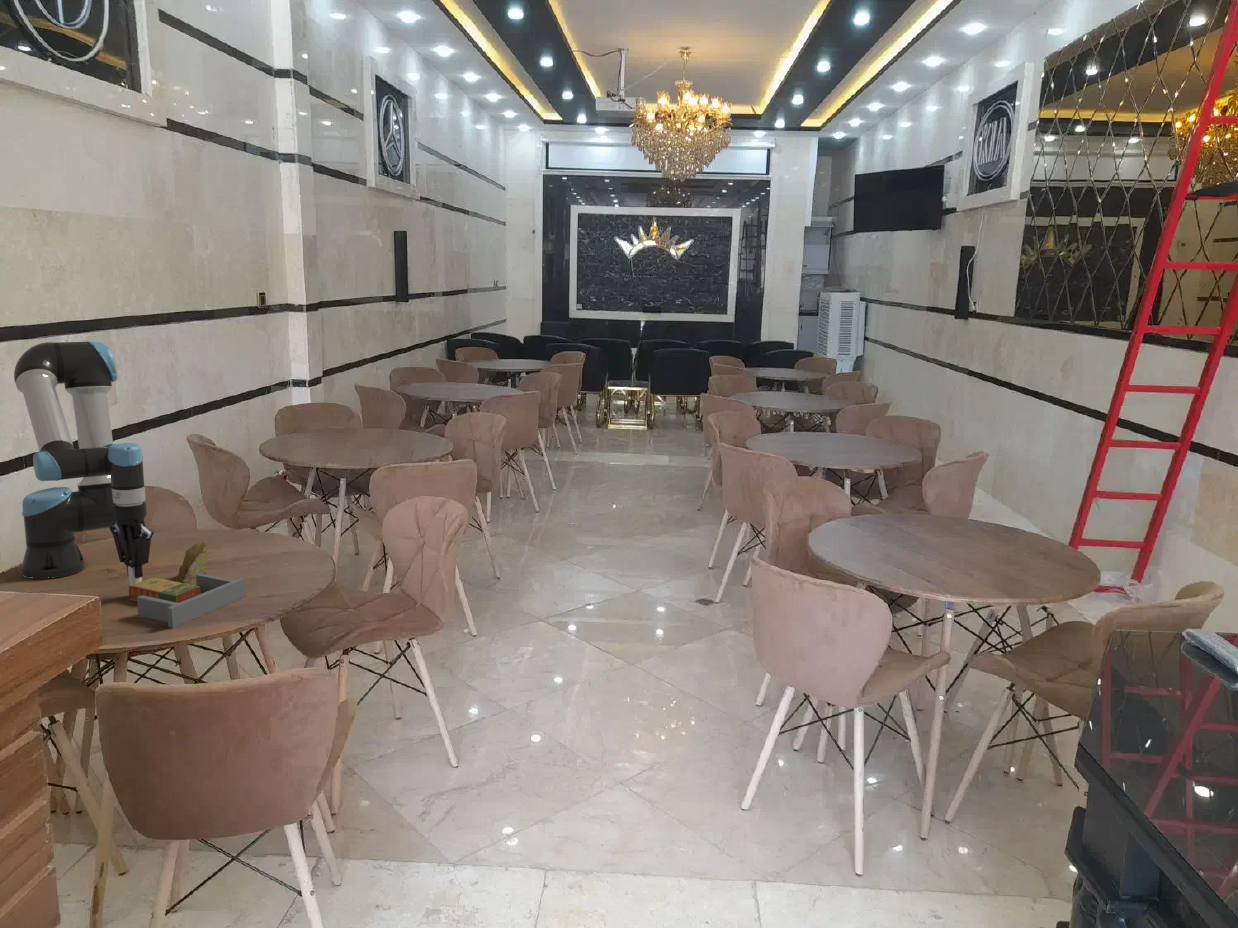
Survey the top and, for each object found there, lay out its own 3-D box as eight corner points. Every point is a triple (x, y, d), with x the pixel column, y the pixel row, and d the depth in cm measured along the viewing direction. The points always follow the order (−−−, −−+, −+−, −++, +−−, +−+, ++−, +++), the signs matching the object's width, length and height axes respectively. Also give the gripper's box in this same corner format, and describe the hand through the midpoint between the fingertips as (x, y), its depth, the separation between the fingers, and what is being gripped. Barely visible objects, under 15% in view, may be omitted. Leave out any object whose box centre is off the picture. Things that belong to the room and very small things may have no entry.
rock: (182, 579, 237) (217, 566, 244) (168, 552, 238) (204, 540, 245) (173, 592, 244) (207, 579, 251) (160, 566, 245) (194, 554, 252)
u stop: (131, 618, 215) (130, 599, 214) (207, 588, 237) (206, 571, 236) (173, 627, 210) (171, 608, 209) (246, 596, 232) (245, 578, 231)
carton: (155, 590, 234) (154, 575, 234) (201, 600, 229) (201, 584, 229) (129, 600, 227) (127, 585, 226) (176, 610, 222) (175, 594, 221)
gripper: (98, 503, 223) (105, 589, 228) (135, 509, 219) (142, 597, 224) (123, 496, 230) (130, 580, 235) (160, 502, 226) (166, 588, 231)
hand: (136, 588), depth 229 cm, fingers closed
